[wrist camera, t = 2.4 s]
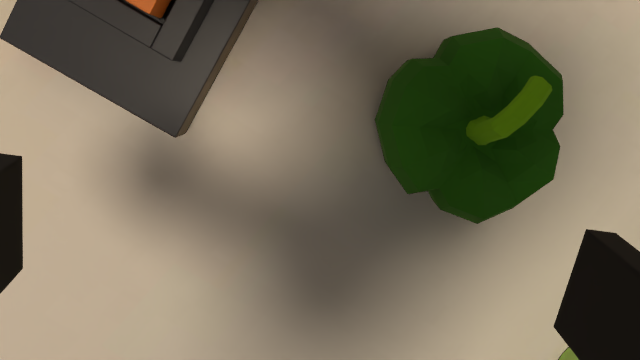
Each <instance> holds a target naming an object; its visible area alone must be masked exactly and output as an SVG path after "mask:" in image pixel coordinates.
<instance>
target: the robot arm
mask: <svg viewBox="0 0 640 360" xmlns="http://www.w3.org/2000/svg"><path fill="white" fill-rule="evenodd" d="M22 269H23V242H22V156H15V155H8V154H0V293H1V292H2V291H3V290H4V289H5V288H6V287H7V285H8V284H9V283H10V282H11V281H12V280H13V279H14V278H15V277H16V275H17V274H18V273H19V272H20V271H21V270H22ZM554 328H555V329H556V330H557V332H558V333H559V334H560V336H561V337H562V338H563V339H564V341H565V342H566V343H567V345H568V346H569V347H570V349H571V350H572V351H573V352H574V354H575V355H576V356H577V358H578V359H579V360H640V252H639V251H638V250H637V249H636V248H634V247H633V246H632V245H630V244H629V243H628V242H626V241H625V240H624V239H623V238H621V237H620V236H619V235H617V234H616V233H611V232H603V231H595V230H588V229H586V231H585V234H584V237H583V240H582V243H581V246H580V249H579V252H578V255H577V258H576V261H575V264H574V267H573V270H572V273H571V276H570V279H569V282H568V285H567V288H566V291H565V294H564V297H563V300H562V303H561V306H560V309H559V312H558V315H557V318H556V321H555V324H554Z"/></svg>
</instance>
